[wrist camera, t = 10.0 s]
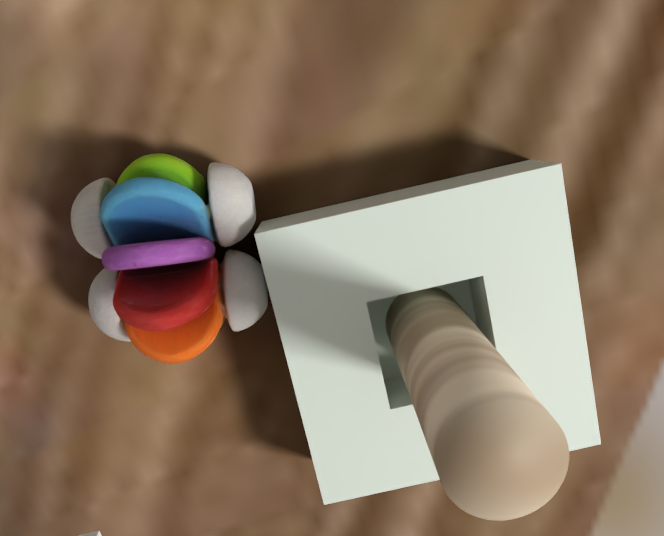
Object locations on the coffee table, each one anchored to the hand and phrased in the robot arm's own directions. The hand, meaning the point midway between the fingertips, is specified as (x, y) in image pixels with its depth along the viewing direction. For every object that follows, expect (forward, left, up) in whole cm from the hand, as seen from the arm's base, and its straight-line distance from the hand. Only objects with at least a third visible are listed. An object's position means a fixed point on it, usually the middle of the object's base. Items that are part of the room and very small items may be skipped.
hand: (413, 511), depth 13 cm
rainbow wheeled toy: (-4, -8, -20) cm, 22 cm away
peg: (+3, +3, -19) cm, 20 cm away
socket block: (+3, +3, -20) cm, 20 cm away
